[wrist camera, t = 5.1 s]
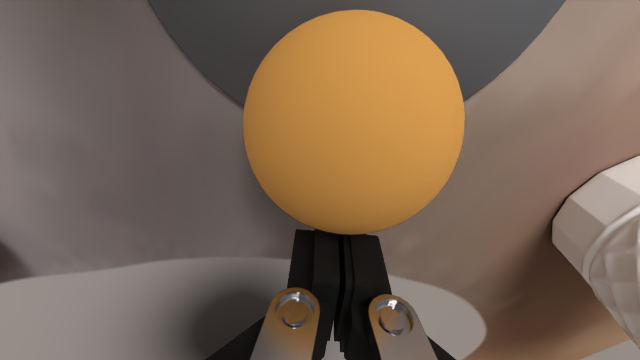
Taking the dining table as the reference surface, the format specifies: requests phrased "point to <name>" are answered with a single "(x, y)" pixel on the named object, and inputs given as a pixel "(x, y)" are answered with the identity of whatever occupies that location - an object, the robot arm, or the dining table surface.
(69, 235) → the dining table surface
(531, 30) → the disc
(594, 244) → the white cup
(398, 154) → the ball
